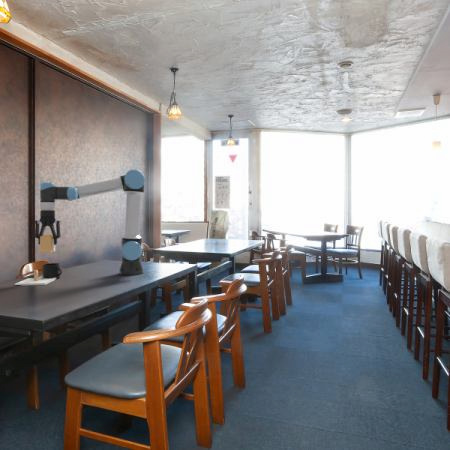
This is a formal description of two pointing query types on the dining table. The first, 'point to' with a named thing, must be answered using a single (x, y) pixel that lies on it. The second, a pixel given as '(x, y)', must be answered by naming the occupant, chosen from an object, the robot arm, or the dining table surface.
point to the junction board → (31, 281)
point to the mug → (51, 270)
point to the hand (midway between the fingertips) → (47, 250)
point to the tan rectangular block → (46, 243)
